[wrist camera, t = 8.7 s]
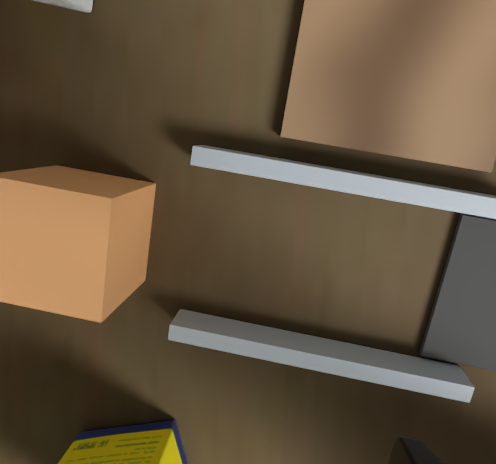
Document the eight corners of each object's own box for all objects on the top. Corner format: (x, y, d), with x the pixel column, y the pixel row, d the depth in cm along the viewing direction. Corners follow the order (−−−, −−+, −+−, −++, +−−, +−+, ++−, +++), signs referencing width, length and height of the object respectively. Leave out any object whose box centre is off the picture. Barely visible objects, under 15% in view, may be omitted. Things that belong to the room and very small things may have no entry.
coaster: (556, -63, 16) (565, -70, 15) (485, 171, 18) (491, 172, 18) (321, -94, 17) (323, -102, 16) (280, 136, 19) (280, 136, 18)
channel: (513, 198, 18) (536, 205, 16) (454, 380, 20) (469, 402, 19) (202, 144, 19) (192, 145, 18) (178, 323, 21) (167, 339, 20)
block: (156, 183, 20) (111, 198, 15) (145, 279, 21) (101, 322, 16) (57, 165, 20) (-17, 174, 16) (52, 261, 22) (-18, 297, 17)
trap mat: (576, 234, 18) (580, 236, 18) (524, 373, 20) (527, 377, 20) (460, 213, 19) (462, 215, 18) (419, 352, 20) (421, 356, 20)
